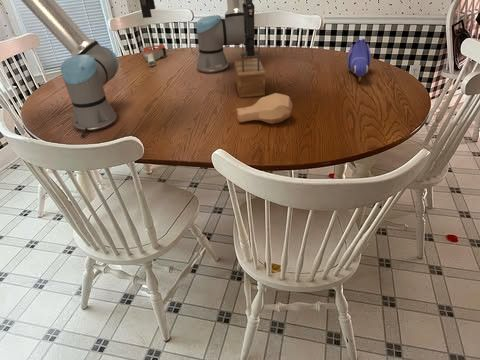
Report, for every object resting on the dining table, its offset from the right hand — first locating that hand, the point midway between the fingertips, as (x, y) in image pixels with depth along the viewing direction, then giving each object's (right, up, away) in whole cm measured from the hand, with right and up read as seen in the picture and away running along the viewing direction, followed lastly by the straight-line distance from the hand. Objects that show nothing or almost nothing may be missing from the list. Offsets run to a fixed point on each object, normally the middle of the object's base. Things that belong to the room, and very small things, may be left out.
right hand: (250, 53), depth 138 cm
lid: (0, -3, +9) cm, 9 cm away
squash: (+5, -28, -10) cm, 30 cm away
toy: (+48, -3, +20) cm, 52 cm away
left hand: (-35, +8, -17) cm, 39 cm away
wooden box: (0, -10, +14) cm, 17 cm away
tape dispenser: (-51, +16, +54) cm, 76 cm away
